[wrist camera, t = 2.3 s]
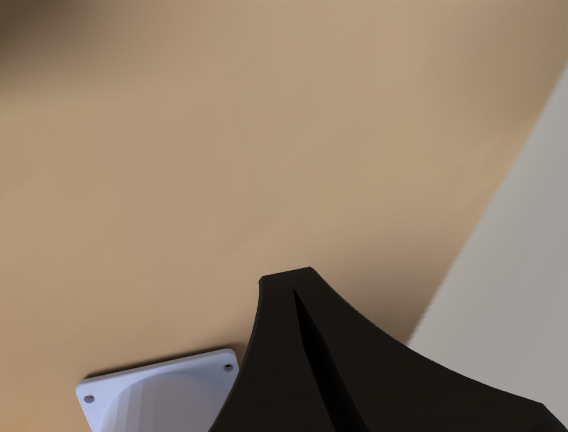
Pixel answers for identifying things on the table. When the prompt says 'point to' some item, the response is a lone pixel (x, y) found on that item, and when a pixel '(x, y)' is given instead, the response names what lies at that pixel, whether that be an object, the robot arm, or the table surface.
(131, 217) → the table surface
